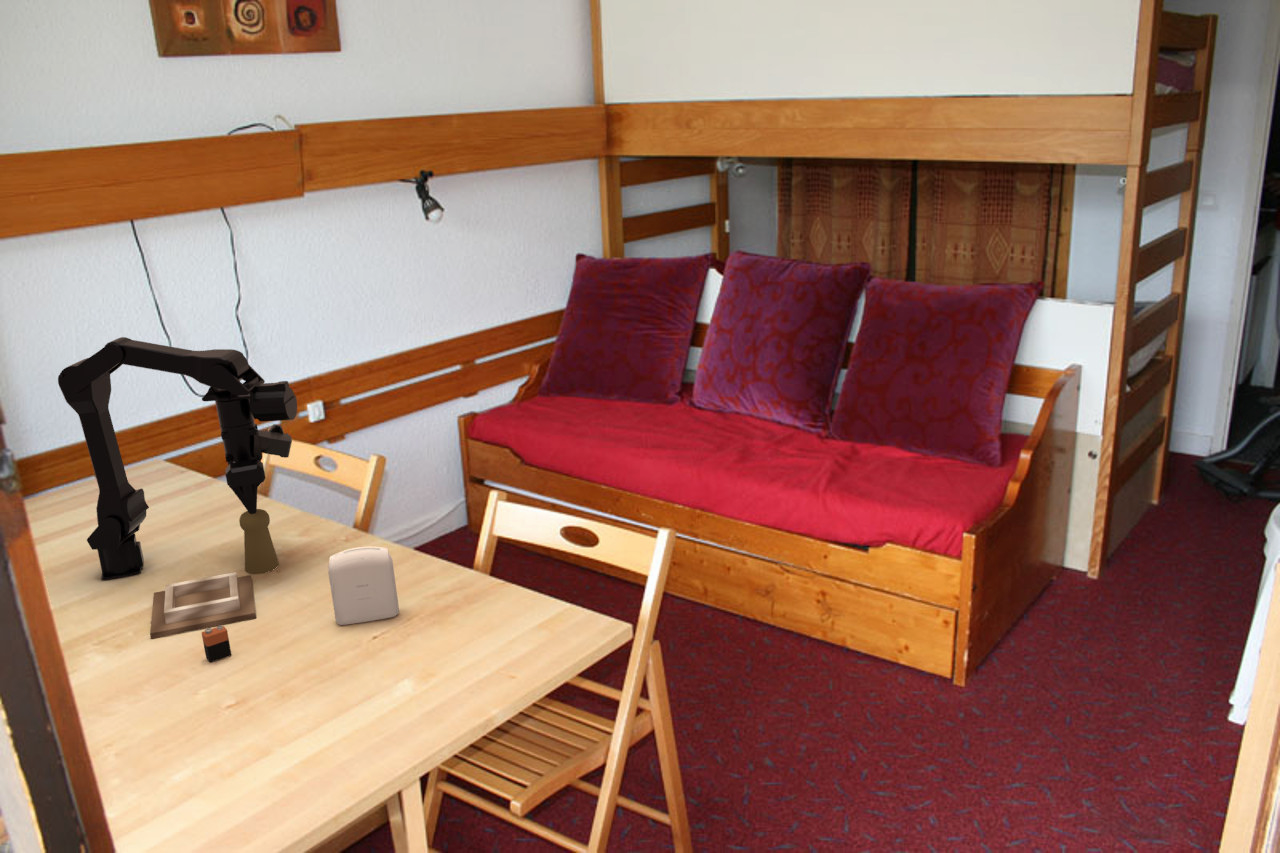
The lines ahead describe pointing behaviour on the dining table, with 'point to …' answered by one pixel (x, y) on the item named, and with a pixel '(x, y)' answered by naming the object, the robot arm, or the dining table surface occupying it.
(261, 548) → the cork
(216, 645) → the battery
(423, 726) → the dining table surface
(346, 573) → the photo printer
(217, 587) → the socket board
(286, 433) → the robot arm
